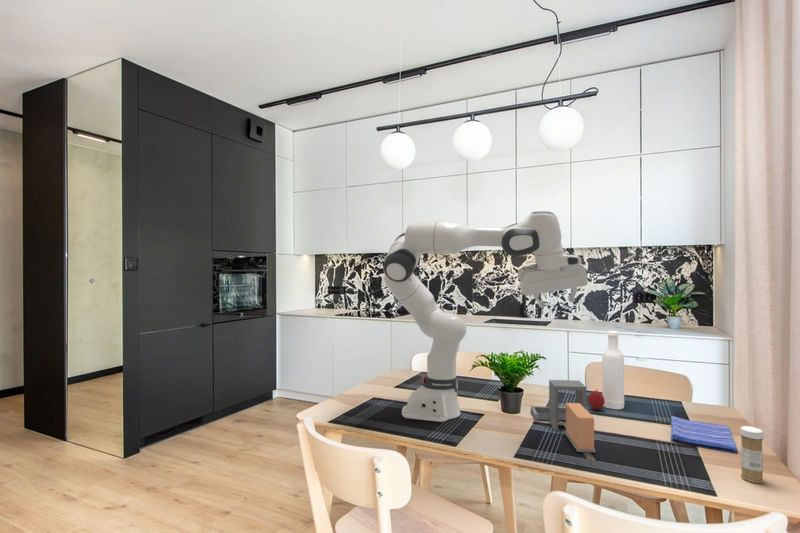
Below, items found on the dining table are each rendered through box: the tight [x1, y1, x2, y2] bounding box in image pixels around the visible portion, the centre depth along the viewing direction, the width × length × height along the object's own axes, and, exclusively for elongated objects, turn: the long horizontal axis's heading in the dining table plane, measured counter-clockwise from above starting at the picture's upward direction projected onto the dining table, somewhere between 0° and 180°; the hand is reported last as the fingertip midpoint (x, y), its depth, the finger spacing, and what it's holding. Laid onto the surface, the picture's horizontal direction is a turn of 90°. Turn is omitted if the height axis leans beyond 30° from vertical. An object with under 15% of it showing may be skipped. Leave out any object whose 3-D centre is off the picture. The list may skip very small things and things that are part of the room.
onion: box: [587, 388, 605, 411], centre depth 166 cm, size 6×6×8 cm
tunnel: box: [548, 379, 587, 431], centre depth 149 cm, size 10×8×15 cm
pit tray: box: [530, 405, 594, 423], centre depth 158 cm, size 20×9×2 cm, turn 83°
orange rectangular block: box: [564, 402, 597, 453], centre depth 135 cm, size 5×14×10 cm, turn 173°
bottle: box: [601, 330, 625, 410], centre depth 170 cm, size 8×8×30 cm
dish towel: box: [670, 415, 738, 454], centre depth 141 cm, size 17×24×3 cm
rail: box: [561, 422, 597, 462], centre depth 138 cm, size 2×30×1 cm, turn 173°
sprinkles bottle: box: [739, 425, 764, 484], centre depth 112 cm, size 5×5×14 cm
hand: (556, 304), depth 135 cm, fingers open, 8 cm apart
